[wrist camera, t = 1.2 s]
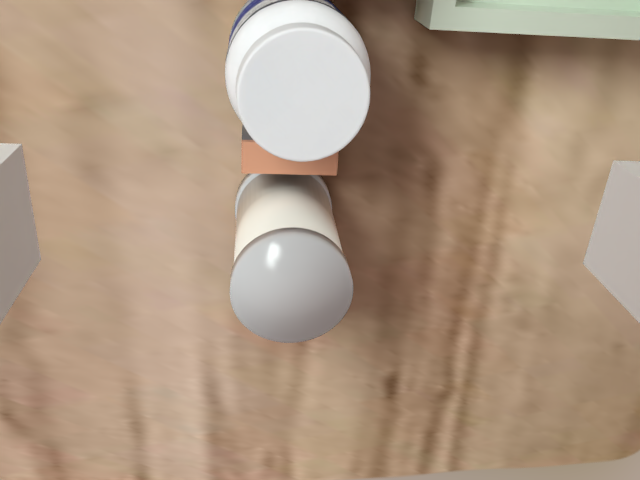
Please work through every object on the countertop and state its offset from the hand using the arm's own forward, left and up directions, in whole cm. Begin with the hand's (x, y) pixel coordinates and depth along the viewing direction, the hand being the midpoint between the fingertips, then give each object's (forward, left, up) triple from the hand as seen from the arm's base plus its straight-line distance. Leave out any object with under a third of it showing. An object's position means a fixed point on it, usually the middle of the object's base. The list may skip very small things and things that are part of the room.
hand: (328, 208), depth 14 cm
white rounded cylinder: (+8, 0, -18) cm, 20 cm away
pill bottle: (0, 0, -18) cm, 18 cm away
